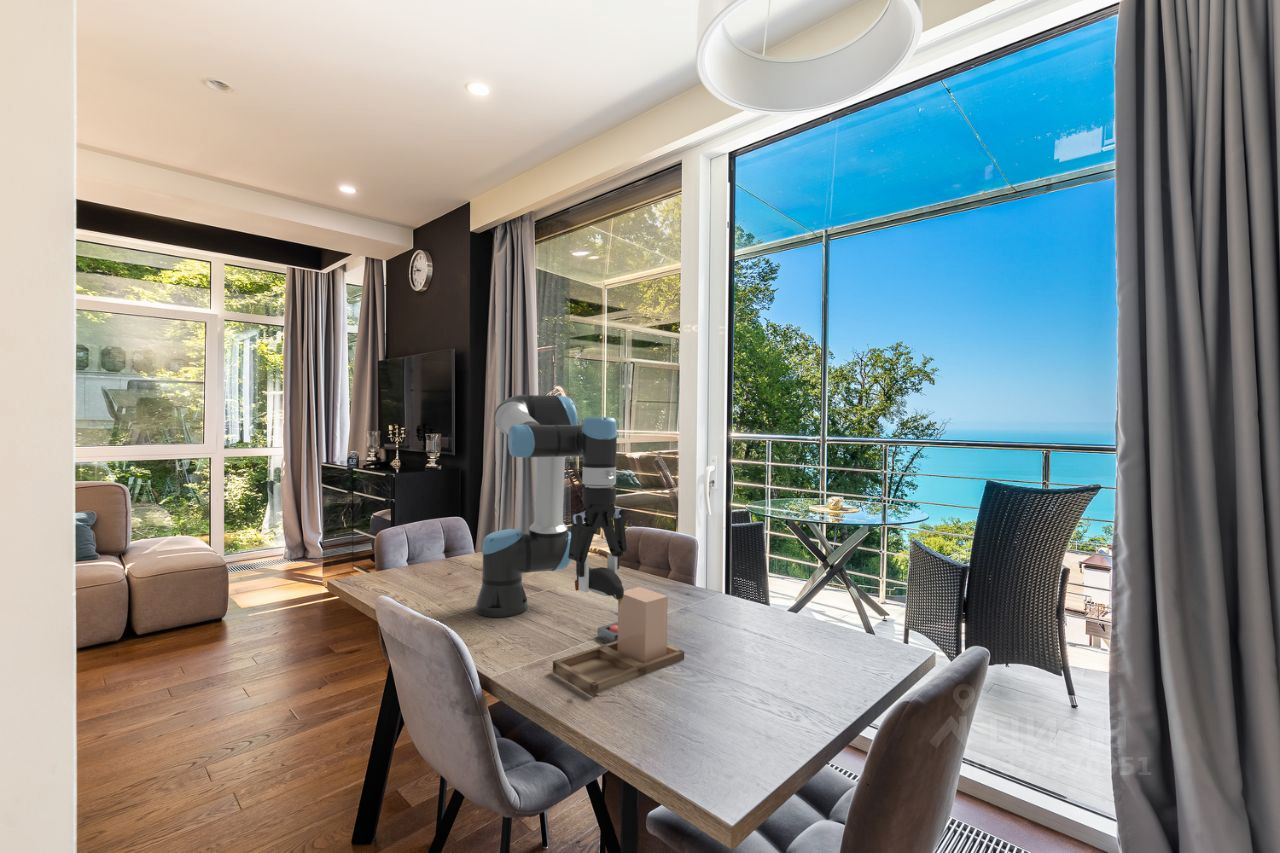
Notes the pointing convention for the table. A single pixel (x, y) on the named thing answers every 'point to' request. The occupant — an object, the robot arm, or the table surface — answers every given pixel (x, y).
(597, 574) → the figurine
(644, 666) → the wooden divided tray
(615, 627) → the stop button
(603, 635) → the button collar
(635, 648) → the tan block
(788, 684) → the table surface
